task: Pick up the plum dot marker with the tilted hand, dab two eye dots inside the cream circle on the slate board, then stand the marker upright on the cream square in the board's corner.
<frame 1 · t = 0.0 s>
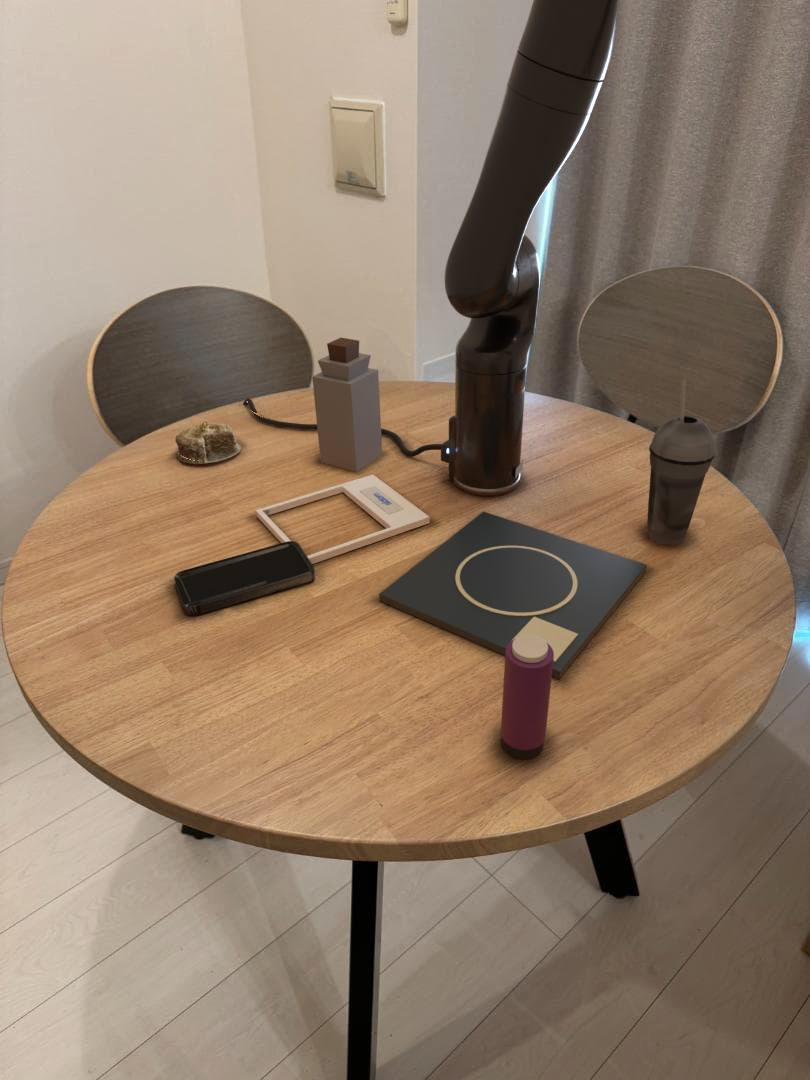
slate board: (515, 586, 84), on the table
beverage cup: (665, 536, 92), on the table
cake: (209, 454, 116), on the table
photo frame: (341, 520, 97), on the table
phone: (246, 581, 86), on the table
dot marker: (522, 743, 64), on the table
perfume bottle: (351, 459, 113), on the table
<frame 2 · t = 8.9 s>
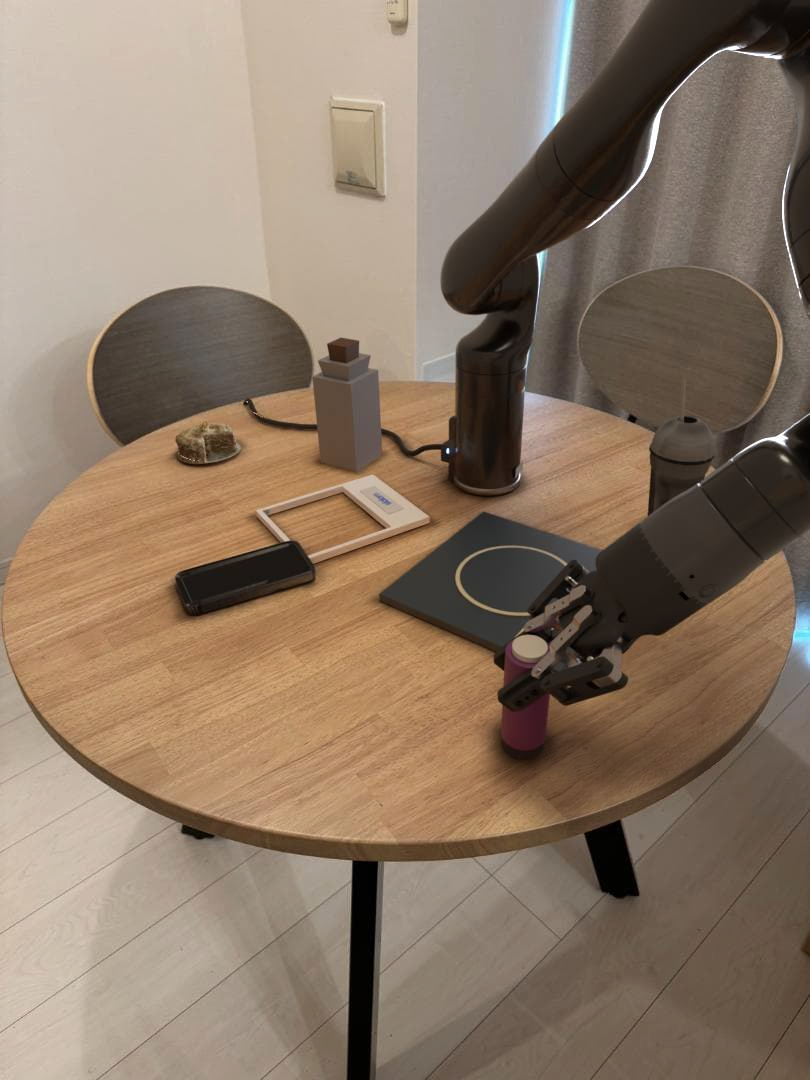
hand: (503, 683, 60), 7 cm above the table, tool tilted 45°, fingers closed on dot marker, 3 cm apart
photo frame: (341, 520, 97), on the table, touching phone
phone: (246, 581, 86), on the table, touching photo frame
dot marker: (522, 743, 64), on the table, touching gripper
everything else where it was.
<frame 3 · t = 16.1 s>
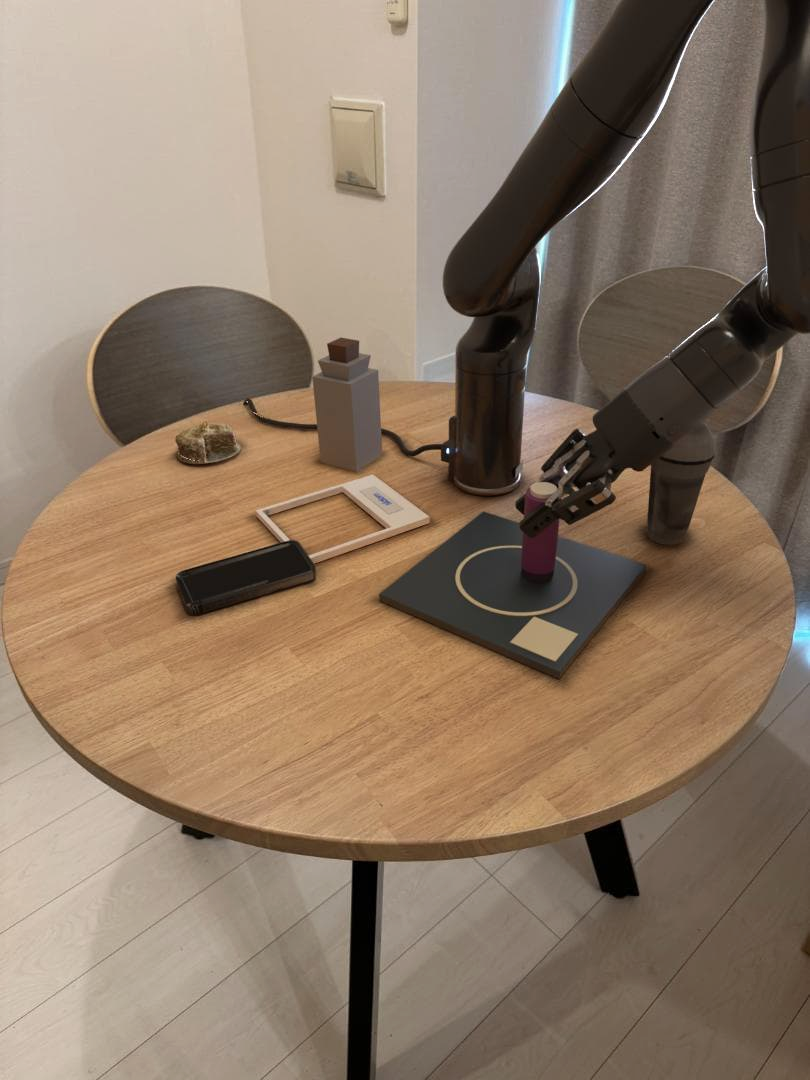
hand: (522, 520, 80), 8 cm above the table, tool tilted 45°, fingers closed on dot marker, 3 cm apart
dot marker: (537, 573, 83), point 1 cm above the table, touching gripper, slate board
everything else where it was.
when the fingers open (8 cm above the table, at t = 23.6 s): dot marker stays where it is, resting on slate board.
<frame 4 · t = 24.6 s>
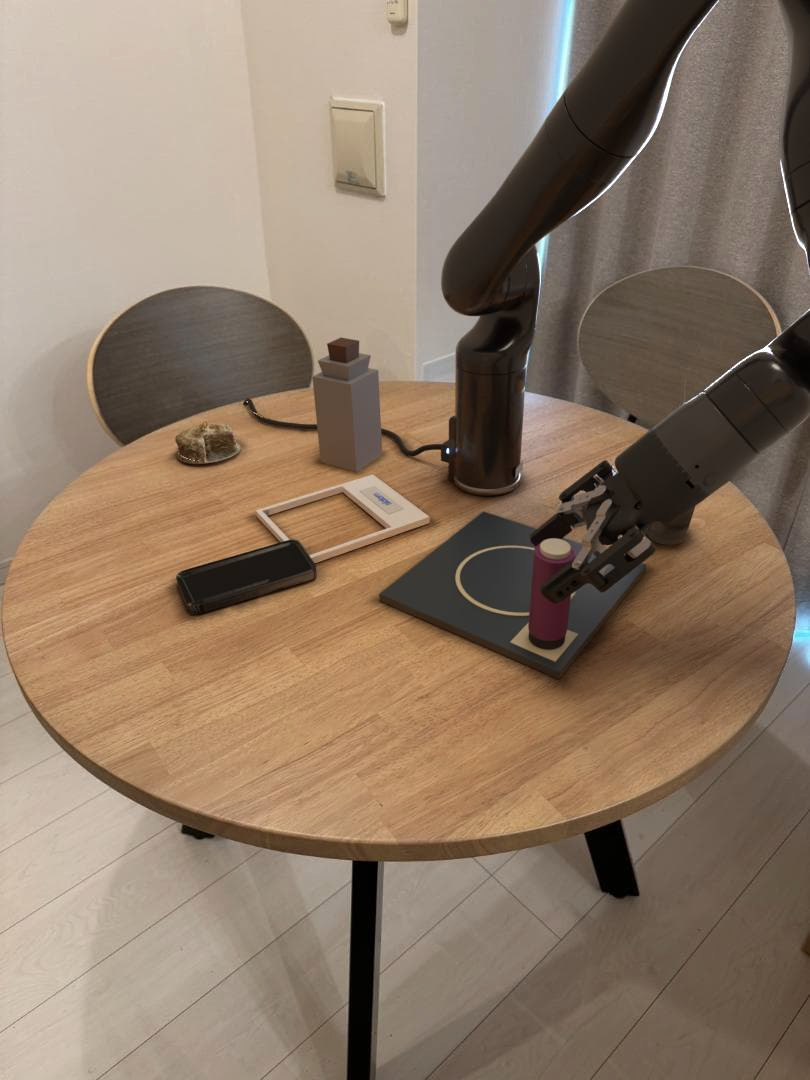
hand: (540, 569, 70), 9 cm above the table, tool tilted 45°, fingers open, 8 cm apart
dot marker: (546, 638, 74), point 1 cm above the table, touching slate board
everything else where it was.
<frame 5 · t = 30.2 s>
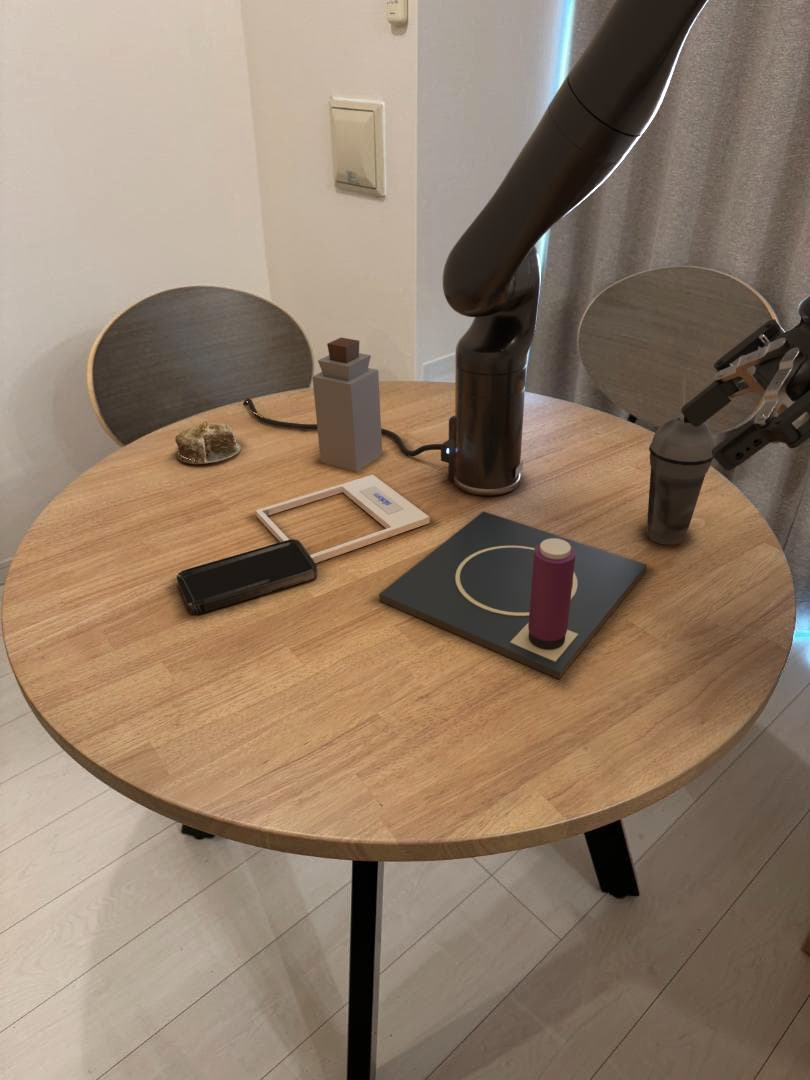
hand: (702, 439, 62), 23 cm above the table, tool tilted 45°, fingers open, 8 cm apart
nothing on the table moved.
at the end: dot marker 0.2 cm from the target spot on the slate board, point 1.1 cm above the slate board's base; dot marker tilted 0°; the gripper is holding nothing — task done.
